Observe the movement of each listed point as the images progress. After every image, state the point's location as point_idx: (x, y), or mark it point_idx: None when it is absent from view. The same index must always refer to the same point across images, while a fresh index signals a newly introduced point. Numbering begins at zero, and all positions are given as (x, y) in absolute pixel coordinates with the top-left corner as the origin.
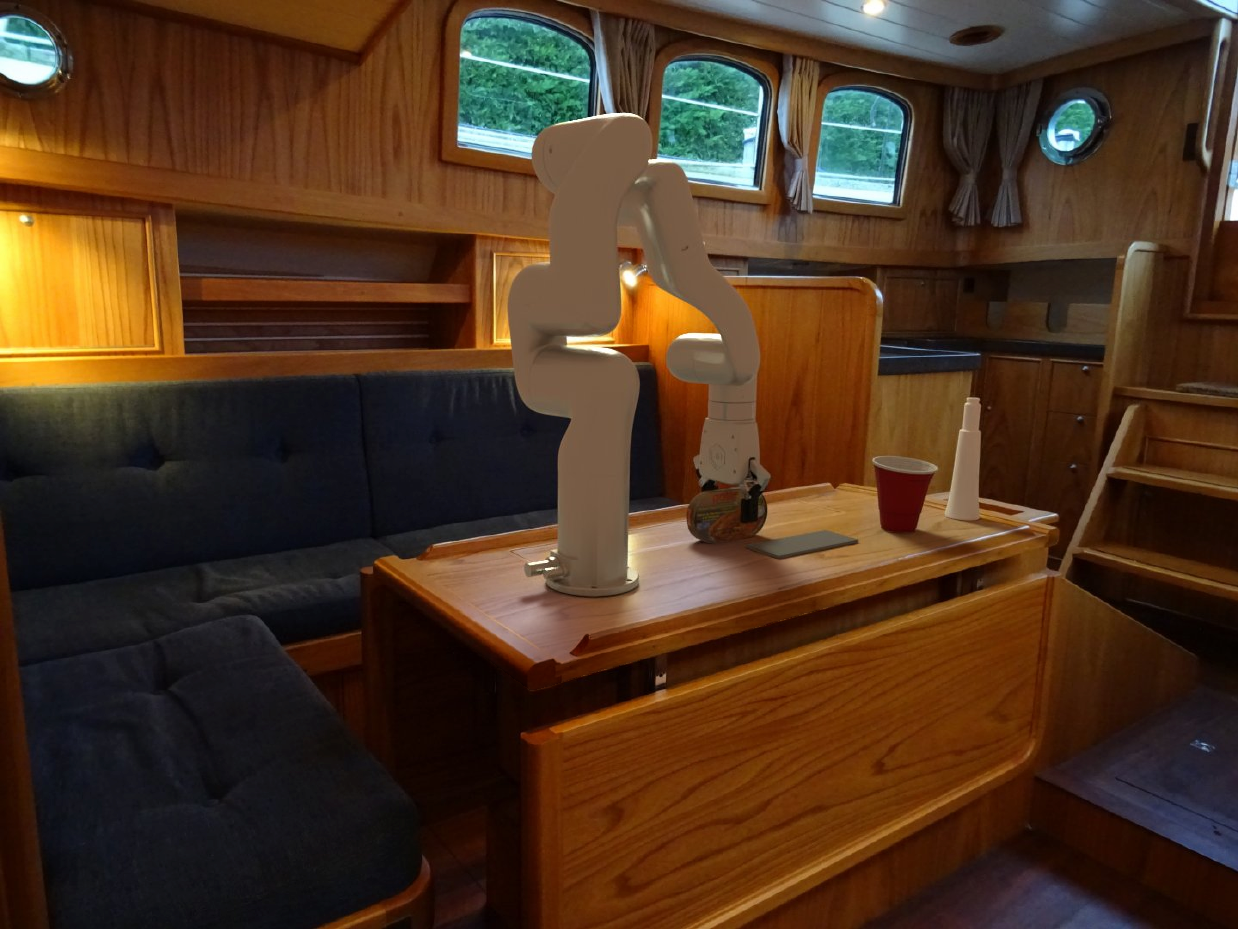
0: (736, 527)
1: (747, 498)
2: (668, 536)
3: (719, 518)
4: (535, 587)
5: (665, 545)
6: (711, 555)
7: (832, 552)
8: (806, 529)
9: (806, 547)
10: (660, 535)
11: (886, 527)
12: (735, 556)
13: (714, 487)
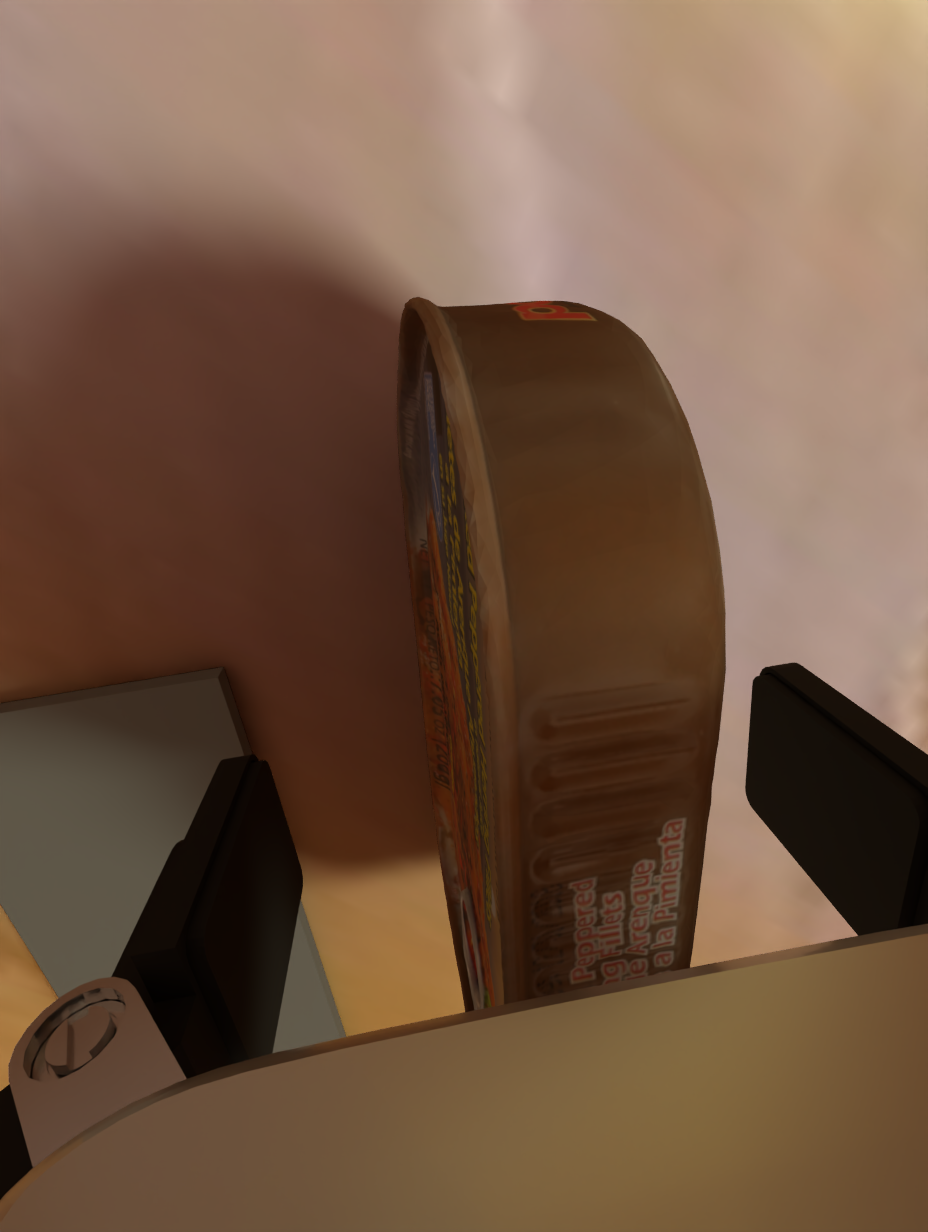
0: (452, 757)
1: (99, 1003)
2: (721, 287)
3: (455, 656)
4: None
5: (505, 72)
6: (88, 312)
7: (23, 1014)
8: None
9: (67, 945)
10: (780, 235)
11: None
12: (26, 485)
13: (891, 924)
